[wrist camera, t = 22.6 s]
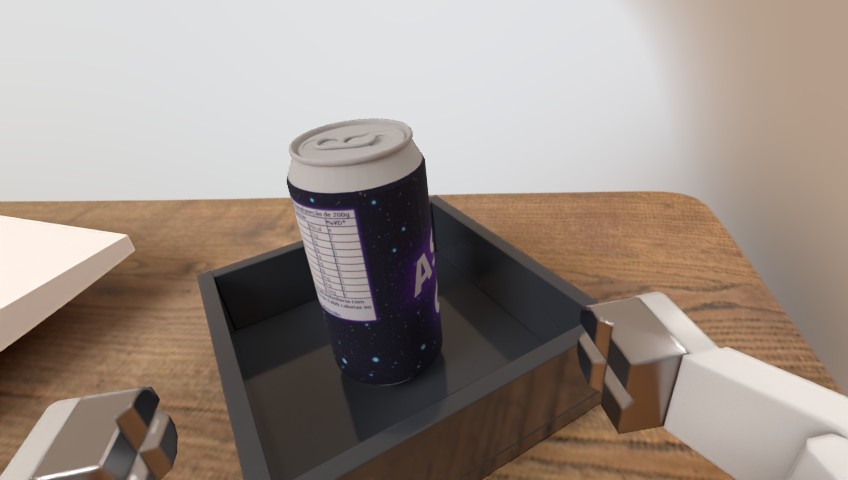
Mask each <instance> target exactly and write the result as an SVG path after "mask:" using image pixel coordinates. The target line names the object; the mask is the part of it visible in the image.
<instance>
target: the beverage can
mask: <svg viewBox="0 0 848 480" xmlns="http://www.w3.org/2000/svg"><path fill="white" fill-rule="evenodd" d="M289 153H290V155H291V157H292V160H291V164H290V168H289V172H288V176H287V185H288V188H289V192H290V196H291V199H292V203H293V207H294V210H295V214H296V218H297V221H298V225H299V229H300V232H301V236H302V240H303V243H304V247H305V251H306V254H307V258H308V262H309V265H310V269H311V273H312V276H313V280H314V284H315V287H316V291H317V295H318V298H319V302H320V306H321V309H322V313H323V317H324V320H325V324H326V328H327V331H328V335H329V339H330V342H331V346H332V350H333V353H334V357H335V360H336V363H337V365H338V367H339V368H340V369H341V371H342V372H343V373H344V374H346V375H347V376H348V377H350V378H352V379H354V380H356V381H359V382H362V383H366V384H372V385H382V386H384V385H395V384H399V383H403V382H405V381H407V380H409V379H411V378H413V377H414V376H416V375H418V374H420V373H421V372H423V371H424V370H425V369H427V368H428V367H429V366H430V365H431V364H432V363H433V362H434V361H435V359H436V358H437V356H438V355H439V353H440V350H441V347H442V342H443V337H442V327H441V317H440V307H439V297H438V287H437V277H436V267H435V257H434V247H433V237H432V227H431V217H430V207H429V197H428V187H427V177H426V167H425V159H424V157H423V155H422V153H421V152H420V150H419V149H418V148H417V146H416V145H415V143H414V141H413V140H412V130H411V128H410V127H409V126H408V125H406V124H405V123H402V122H399V121H395V120H389V119H357V120H350V121H343V122H338V123H334V124H329V125H325V126H322V127H319V128H316V129H313V130H310V131H308V132H306V133H304V134H302V135H300V136H299V137H297V138H296V139H295V140H294V141H292V143H291V144H290V147H289Z"/></svg>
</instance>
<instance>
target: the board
mask: <svg viewBox="0 0 848 480" xmlns="http://www.w3.org/2000/svg"><path fill="white" fill-rule="evenodd" d="M134 251H135V248H134V246H133V244H132V242H131V240H130V238H129V236H128V235H125V234H118V233H112V232H105V231H99V230H92V229H86V228H79V227H72V226H66V225H59V224H53V223H46V222H40V221H33V220H26V219H20V218H13V217H7V216H0V352H1V351H2V350H4V349H5V348H6V347H8V346H9V345H10V344H12V343H13V342H15V341H16V340H17V339H19V338H20V337H21V336H23V335H24V334H26V333H27V332H28V331H30V330H31V329H32V328H34V327H35V326H36V325H38V324H39V323H40V322H42V321H43V320H45V319H46V318H47V317H49V316H50V315H51V314H53V313H54V312H55V311H57V310H58V309H59V308H61V307H62V306H63V305H65V304H66V303H67V302H69V301H70V300H71V299H73V298H74V297H75V296H77V295H78V294H79V293H81V292H82V291H83V290H85V289H86V288H87V287H89V286H90V285H91V284H93V283H94V282H95V281H96V280H98V279H99V278H100V277H102V276H103V275H104V274H106V273H107V272H108V271H110V270H111V269H112V268H113V267H115V266H116V265H117V264H119V263H120V262H121V261H122V260H124V259H125V258H126V257H128V256H129V255H130V254H131V253H133V252H134Z"/></svg>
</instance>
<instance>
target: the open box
mask: <svg viewBox="0 0 848 480" xmlns="http://www.w3.org/2000/svg"><path fill="white" fill-rule="evenodd" d="M429 207H430V217H431V227H432V237H433V247H434V257H435V267H436V277H437V287H438V297H439V307H440V317H441V327H442V337H443V342H442V347H441V350H440V353H439V355H438V356H437V358H436V359H435V361H434V362H433V363H432V364H431V365H430V366H429V367H428V368H427V369H425V370H424V371H423V372H421V373H420V374H418V375H416V376H414V377H413V378H411V379H409V380H407V381H405V382H403V383H399V384H395V385H384V386H382V385H372V384H366V383H362V382H359V381H356V380H354V379H352V378H350V377H348V376H347V375H346V374H344V373H343V372H342V371H341V369H340V368H339V367H338V365H337V363H336V360H335V357H334V353H333V350H332V346H331V342H330V339H329V335H328V331H327V328H326V324H325V320H324V317H323V313H322V309H321V306H320V302H319V298H318V295H317V291H316V287H315V284H314V280H313V276H312V273H311V269H310V265H309V262H308V258H307V254H306V251H305V247H304V243H303V240H302V241H299V242H296V243H293V244H290V245H287V246H284V247H281V248H278V249H275V250H272V251H269V252H266V253H263V254H260V255H257V256H254V257H251V258H249V259H246V260H243V261H240V262H237V263H234V264H231V265H228V266H225V267H222V268H219V269H216V270H213V271H209V272H206V273H203V274H200V275H197V279H198V283H199V287H200V292H201V296H202V300H203V305H204V309H205V314H206V318H207V322H208V327H209V331H210V335H211V340H212V344H213V348H214V353H215V357H216V361H217V366H218V370H219V374H220V379H221V383H222V388H223V392H224V396H225V401H226V405H227V409H228V414H229V418H230V422H231V427H232V431H233V435H234V440H235V444H236V448H237V453H238V457H239V462H240V466H241V470H242V475H243V479H244V480H481V479H482V478H484V477H485V476H487V475H488V474H490V473H491V472H493V471H495V470H496V469H498V468H499V467H501V466H502V465H504V464H505V463H507V462H509V461H510V460H512V459H513V458H515V457H516V456H518V455H520V454H521V453H523V452H524V451H526V450H527V449H529V448H530V447H532V446H534V445H535V444H537V443H538V442H540V441H541V440H543V439H545V438H546V437H548V436H549V435H551V434H552V433H554V432H555V431H557V430H559V429H560V428H562V427H563V426H565V425H566V424H568V423H569V422H571V421H573V420H574V419H576V418H577V417H579V416H580V415H582V414H584V413H585V412H587V411H588V410H590V409H591V408H593V407H594V406H596V405H598V404H599V403H601V399H602V393H601V392H600V391H598V390H596V389H594V388H593V387H591V386H590V385H589V384H588V382H587V380H586V379H585V377H584V375H583V372H582V370H581V367H580V365H579V360H578V355H577V342H578V338H579V337H580V335H581V334H582V333H583V332H584V331H585V329H584V328H583V326H582V325H581V323H580V322H579V321H580V313H581V310H582V308H583V307H584V306H586V305H591V304H596V303H599V302H597V301H596V300H594V299H593V298H591V297H590V296H588V295H587V294H585V293H584V292H582V291H581V290H579V289H578V288H576V287H575V286H573V285H572V284H570V283H569V282H567V281H566V280H564V279H563V278H561V277H560V276H558V275H557V274H555V273H553V272H552V271H550V270H549V269H547V268H546V267H544V266H543V265H541V264H540V263H538V262H537V261H535V260H534V259H532V258H531V257H529V256H528V255H526V254H525V253H523V252H522V251H520V250H519V249H517V248H516V247H514V246H513V245H511V244H509V243H508V242H506V241H505V240H503V239H502V238H500V237H499V236H497V235H496V234H494V233H493V232H491V231H490V230H488V229H487V228H485V227H484V226H482V225H481V224H479V223H478V222H476V221H475V220H473V219H472V218H470V217H469V216H467V215H465V214H464V213H462V212H461V211H459V210H458V209H456V208H455V207H453V206H452V205H450V204H449V203H447V202H446V201H444V200H443V199H441V198H440V197H438V196H437V195H435V196H432V197H429Z"/></svg>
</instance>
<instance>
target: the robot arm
mask: <svg viewBox="0 0 848 480" xmlns="http://www.w3.org/2000/svg"><path fill="white" fill-rule="evenodd" d="M579 322H580V323H581V325H582V326H583V328H584V329H585V331H584V332H583V333H582V334H581V335H580V337H579V338H578V342H577V355H578V360H579V365H580V367H581V370H582V372H583V375H584V377H585V379H586V380H587V382H588V384H589V385H590V386H591V387H593V388H594V389H596V390H598V391H600V392H601V393H602V399H601V406H602V407H603V409H604V411H605V412H606V414H607V416H608V417H609V419H610V420H611V422H612V424H613V425H614V427H615V429H616V430H617V432H618V434H622V433H628V432H633V431H639V430H645V429H650V428H656V427H661V426H664V427H663V429H664V430H666V431H667V432H669V433H670V434H672V435H673V436H674V437H676V438H677V439H679V440H680V441H681V442H683V443H684V444H686V445H687V446H689V447H690V448H691V449H693V450H694V451H696V452H697V453H699V454H700V455H701V456H703V457H704V458H706V459H707V460H708V461H710V462H711V463H713V464H714V465H716V466H717V467H718V468H720V469H721V470H723V471H724V472H725V473H727V474H728V475H730V476H731V477H733V478H734V479H735V480H848V397H846V396H844V395H842V394H839V393H837V392H834V391H832V390H830V389H827V388H825V387H823V386H820V385H818V384H815V383H813V382H811V381H808V380H806V379H803V378H801V377H799V376H796V375H794V374H791V373H789V372H787V371H784V370H782V369H779V368H777V367H775V366H772V365H770V364H767V363H765V362H763V361H760V360H758V359H756V358H753V357H751V356H748V355H746V354H744V353H741V352H739V351H736V350H734V349H732V348H729V347H723V348H719V347H718V346H717V345H716V344H715V343H714V342H713V341H712V340H711V339H710V338H709V337H708V336H707V335H706V334H705V333H704V332H703V331H702V330H701V329H700V328H699V327H698V326H697V325H696V324H695V323H694V322H693V321H692V320H691V319H690V318H689V317H688V316H687V315H686V314H685V313H684V312H683V311H681V310H680V309H679V308H678V307H677V306H676V305H675V304H674V303H673V302H672V301H671V300H670V299H669V298H668V297H667V296H666V295H665V294H663V293H661V292H659V291H657V292H652V293H647V294H642V295H637V296H633V297H628V298H623V299H617V300H612V301H607V302H602V303H596V304H591V305H586V306H584V307H583V308H582V310H581V313H580V321H579ZM159 401H160V399H159V397H158V396H157V394H156V393H155V391H154V390H153V389H152V387H138V388H131V389H125V390H119V391H113V392H106V393H100V394H94V395H87V396H86V397H79V398H73V399H66V400H59V401H57V402H55V403H54V404H52V405H51V406H49V407H48V408H47V409H46V411H45V412H44V414H43V415H42V416H41V418H40V419H39V421H38V422H37V424H36V425H35V427H34V428H33V430H32V431H31V433H30V434H29V436H28V437H27V438H26V440H25V441H24V443H23V444H22V446H21V447H20V449H19V450H18V452H17V453H16V455H15V456H14V457H13V459H12V460H11V462H10V463H9V465H8V466H7V468H6V469H5V471H4V472H3V474H2V475H1V477H0V480H161V479H162V478H163V477H164V476H165V475H166V474H167V473H168V472H169V471H170V470H171V469H172V467H173V463H174V460H175V457H176V454H177V439H178V436H177V432H176V428H175V424H174V423H173V421H172V419H171V417H170V416H169V415H167V414H165V413H163V412H161V411H159V410H157V409H156V408H157V406H158V403H159Z"/></svg>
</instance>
